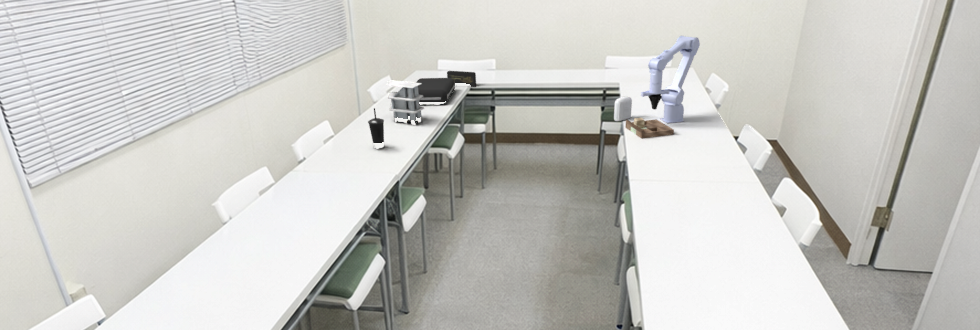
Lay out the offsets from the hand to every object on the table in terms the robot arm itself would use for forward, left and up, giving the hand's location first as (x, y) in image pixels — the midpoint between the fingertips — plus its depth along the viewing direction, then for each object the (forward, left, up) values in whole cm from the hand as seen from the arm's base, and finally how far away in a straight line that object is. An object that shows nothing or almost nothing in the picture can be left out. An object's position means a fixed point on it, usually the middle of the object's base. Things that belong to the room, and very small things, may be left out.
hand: (654, 108), depth 289 cm
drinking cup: (+138, -16, -10) cm, 139 cm away
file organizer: (+122, -55, -10) cm, 134 cm away
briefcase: (+104, -100, -10) cm, 145 cm away
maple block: (+10, +5, -7) cm, 13 cm away
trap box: (+5, +6, -9) cm, 12 cm away
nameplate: (+78, -124, -10) cm, 147 cm away
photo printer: (+9, -17, -10) cm, 21 cm away
